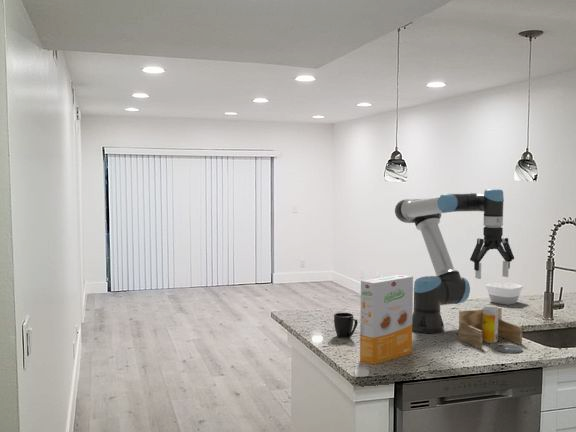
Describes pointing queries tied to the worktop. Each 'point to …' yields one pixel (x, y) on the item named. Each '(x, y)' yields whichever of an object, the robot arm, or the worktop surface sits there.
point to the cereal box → (386, 318)
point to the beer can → (490, 323)
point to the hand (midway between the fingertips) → (491, 277)
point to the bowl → (504, 292)
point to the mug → (344, 324)
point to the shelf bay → (474, 321)
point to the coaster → (508, 348)
